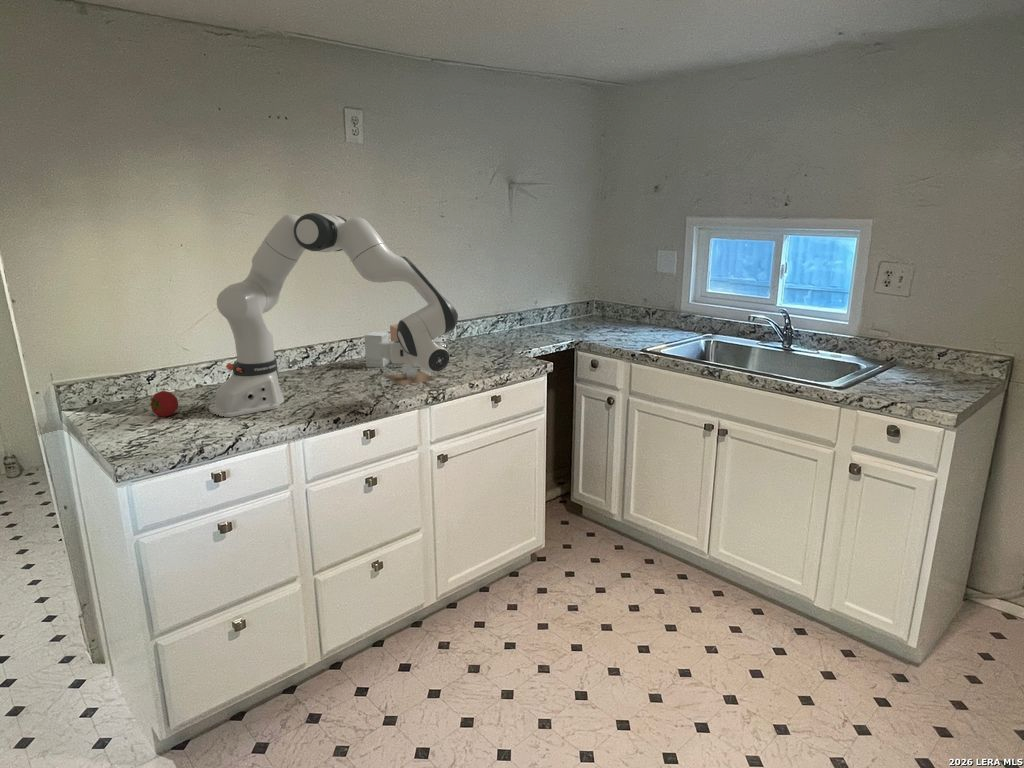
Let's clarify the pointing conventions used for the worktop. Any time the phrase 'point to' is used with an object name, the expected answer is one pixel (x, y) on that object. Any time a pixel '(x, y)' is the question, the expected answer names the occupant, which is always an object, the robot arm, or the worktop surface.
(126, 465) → the worktop surface
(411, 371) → the block
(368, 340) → the supplement box
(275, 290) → the robot arm
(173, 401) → the tomato
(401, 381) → the tile
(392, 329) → the tan tall prism
